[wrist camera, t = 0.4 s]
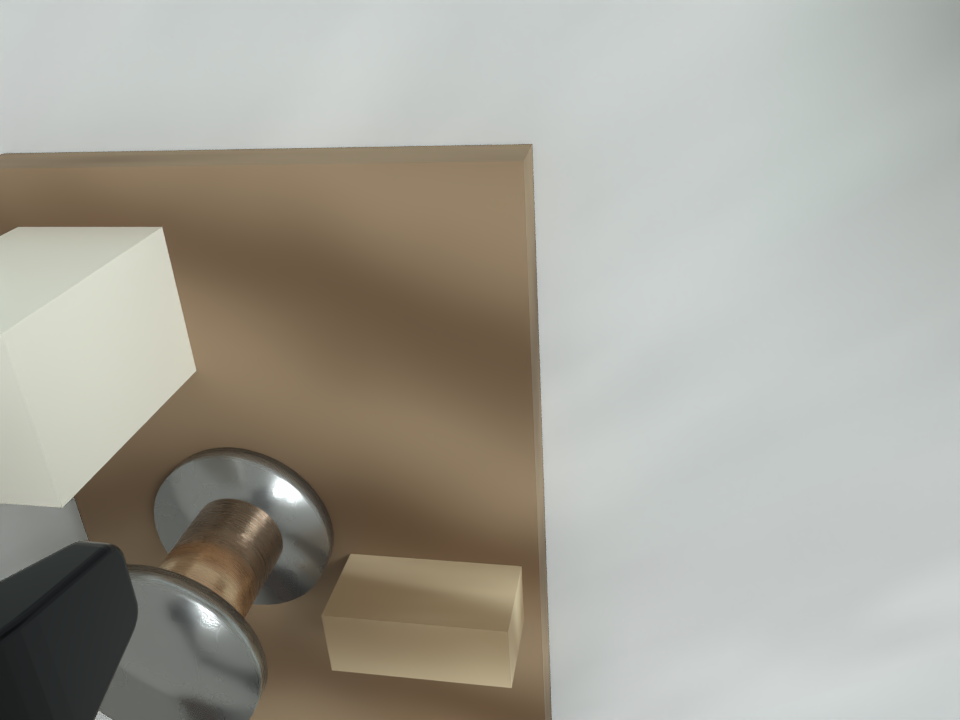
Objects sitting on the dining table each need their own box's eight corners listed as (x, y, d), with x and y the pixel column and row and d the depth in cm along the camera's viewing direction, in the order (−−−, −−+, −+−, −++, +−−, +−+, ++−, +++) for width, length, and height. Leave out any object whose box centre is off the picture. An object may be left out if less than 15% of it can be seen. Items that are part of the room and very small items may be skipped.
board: (552, 756, 30) (548, 795, 29) (178, 713, 33) (158, 747, 31) (532, 144, 20) (523, 161, 19) (3, 153, 23) (-37, 168, 22)
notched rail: (533, 793, 29) (522, 866, 27) (386, 775, 30) (365, 844, 28) (521, 566, 24) (508, 631, 22) (350, 553, 25) (321, 615, 23)
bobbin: (345, 597, 26) (274, 754, 21) (185, 584, 27) (84, 731, 22) (319, 451, 24) (234, 591, 19) (146, 442, 25) (23, 573, 20)
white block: (196, 370, 23) (62, 507, 18) (62, 366, 24) (-104, 496, 19) (161, 227, 21) (2, 333, 16) (17, 226, 22) (-179, 328, 17)
